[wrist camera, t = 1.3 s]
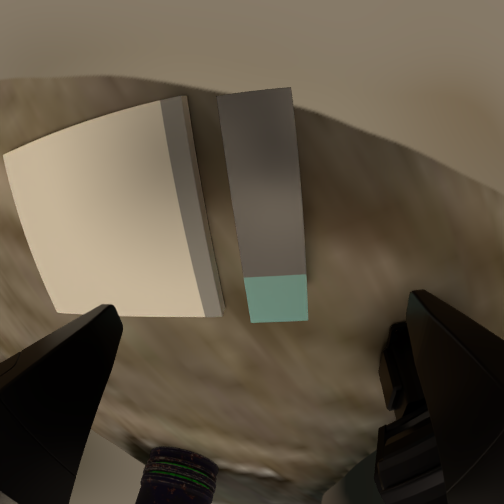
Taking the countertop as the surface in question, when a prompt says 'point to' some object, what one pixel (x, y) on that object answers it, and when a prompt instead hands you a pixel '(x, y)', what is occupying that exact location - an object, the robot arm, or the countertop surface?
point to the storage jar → (177, 478)
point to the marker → (266, 201)
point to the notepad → (119, 214)
